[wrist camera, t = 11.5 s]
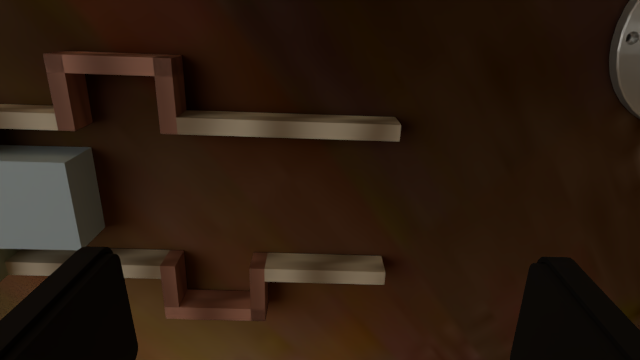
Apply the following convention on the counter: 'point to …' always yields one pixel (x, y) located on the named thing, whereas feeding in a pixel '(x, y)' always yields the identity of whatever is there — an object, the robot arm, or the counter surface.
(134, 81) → the counter surface
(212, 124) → the trap channel
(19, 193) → the gray block
